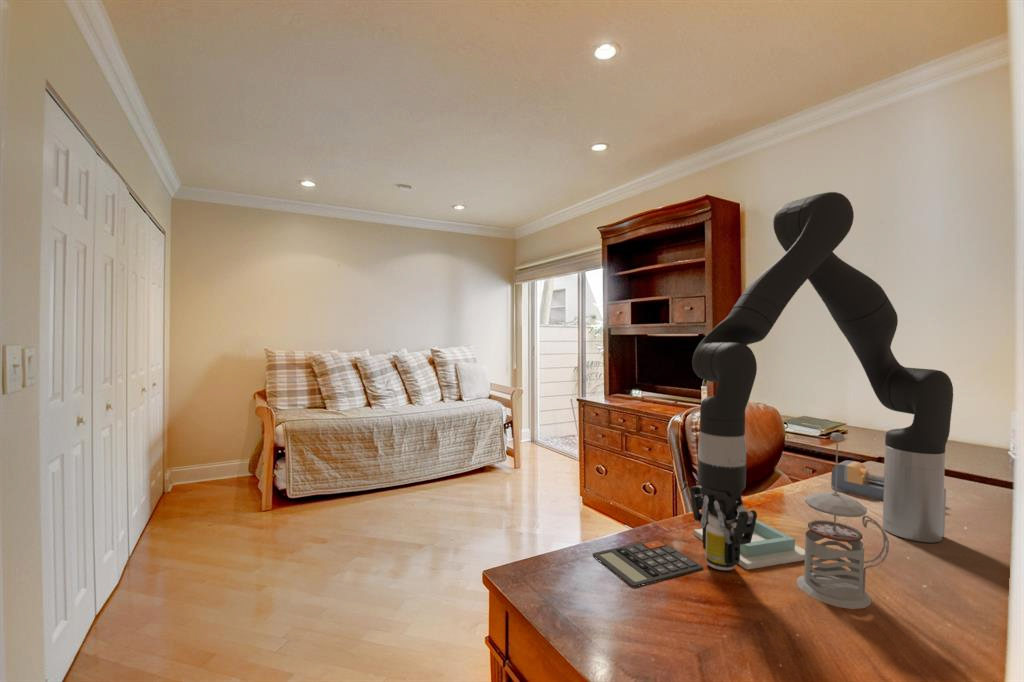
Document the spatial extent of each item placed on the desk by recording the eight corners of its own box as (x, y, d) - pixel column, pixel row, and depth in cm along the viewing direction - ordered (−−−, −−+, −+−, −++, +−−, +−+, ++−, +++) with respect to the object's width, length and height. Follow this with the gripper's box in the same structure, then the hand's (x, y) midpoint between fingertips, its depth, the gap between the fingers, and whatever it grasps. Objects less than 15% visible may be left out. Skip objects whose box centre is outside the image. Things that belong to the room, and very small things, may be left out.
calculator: (704, 565, 81) (632, 584, 75) (704, 571, 81) (632, 590, 75) (657, 537, 92) (591, 552, 86) (657, 542, 92) (591, 557, 86)
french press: (793, 568, 82) (797, 423, 81) (876, 585, 77) (881, 430, 76) (800, 598, 73) (804, 435, 72) (895, 619, 68) (901, 444, 67)
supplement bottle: (738, 572, 79) (739, 522, 79) (708, 569, 80) (709, 520, 80) (731, 558, 84) (732, 511, 84) (702, 556, 85) (703, 509, 84)
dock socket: (751, 526, 98) (751, 512, 98) (811, 558, 85) (811, 542, 85) (693, 534, 95) (693, 519, 94) (746, 569, 81) (747, 552, 81)
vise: (828, 490, 121) (829, 464, 121) (842, 482, 128) (843, 457, 128) (919, 512, 107) (920, 482, 107) (930, 501, 114) (931, 474, 114)
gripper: (773, 468, 75) (771, 574, 76) (711, 446, 89) (710, 536, 90) (733, 473, 73) (732, 581, 74) (677, 449, 87) (676, 541, 88)
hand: (720, 556), depth 82 cm, fingers closed on supplement bottle, 4 cm apart
